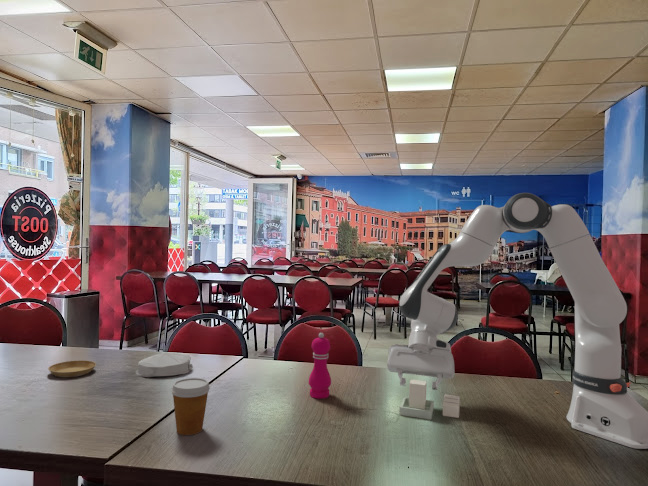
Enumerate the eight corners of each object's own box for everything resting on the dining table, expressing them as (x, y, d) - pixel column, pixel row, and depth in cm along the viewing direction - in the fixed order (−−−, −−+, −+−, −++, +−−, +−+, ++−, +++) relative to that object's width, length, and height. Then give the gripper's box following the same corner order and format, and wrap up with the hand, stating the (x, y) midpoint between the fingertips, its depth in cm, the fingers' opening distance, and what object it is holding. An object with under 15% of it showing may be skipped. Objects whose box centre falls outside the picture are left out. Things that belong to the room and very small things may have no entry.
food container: (183, 380, 152) (184, 361, 152) (125, 377, 152) (126, 358, 152) (199, 365, 172) (200, 347, 172) (149, 362, 172) (150, 345, 172)
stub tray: (403, 404, 134) (403, 396, 134) (433, 408, 132) (433, 401, 132) (399, 414, 126) (399, 407, 126) (431, 419, 123) (431, 411, 123)
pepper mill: (328, 400, 136) (330, 335, 136) (305, 398, 137) (307, 334, 137) (332, 392, 143) (334, 331, 143) (311, 390, 144) (312, 329, 144)
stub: (410, 405, 131) (411, 379, 131) (425, 408, 130) (426, 381, 130) (408, 410, 127) (409, 383, 127) (424, 413, 126) (425, 385, 126)
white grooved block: (444, 403, 136) (444, 393, 136) (459, 405, 134) (459, 395, 134) (442, 415, 126) (442, 404, 126) (459, 418, 125) (459, 407, 125)
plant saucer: (84, 364, 166) (84, 357, 166) (103, 372, 157) (104, 365, 157) (40, 373, 154) (40, 366, 154) (59, 382, 145) (59, 374, 145)
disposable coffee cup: (187, 442, 105) (189, 392, 105) (161, 431, 110) (163, 384, 110) (216, 428, 113) (218, 381, 113) (191, 419, 118) (192, 375, 118)
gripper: (388, 338, 141) (382, 377, 131) (455, 344, 134) (453, 385, 125) (390, 349, 145) (384, 387, 136) (455, 355, 139) (453, 396, 129)
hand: (418, 386), depth 130 cm, fingers open, 8 cm apart
